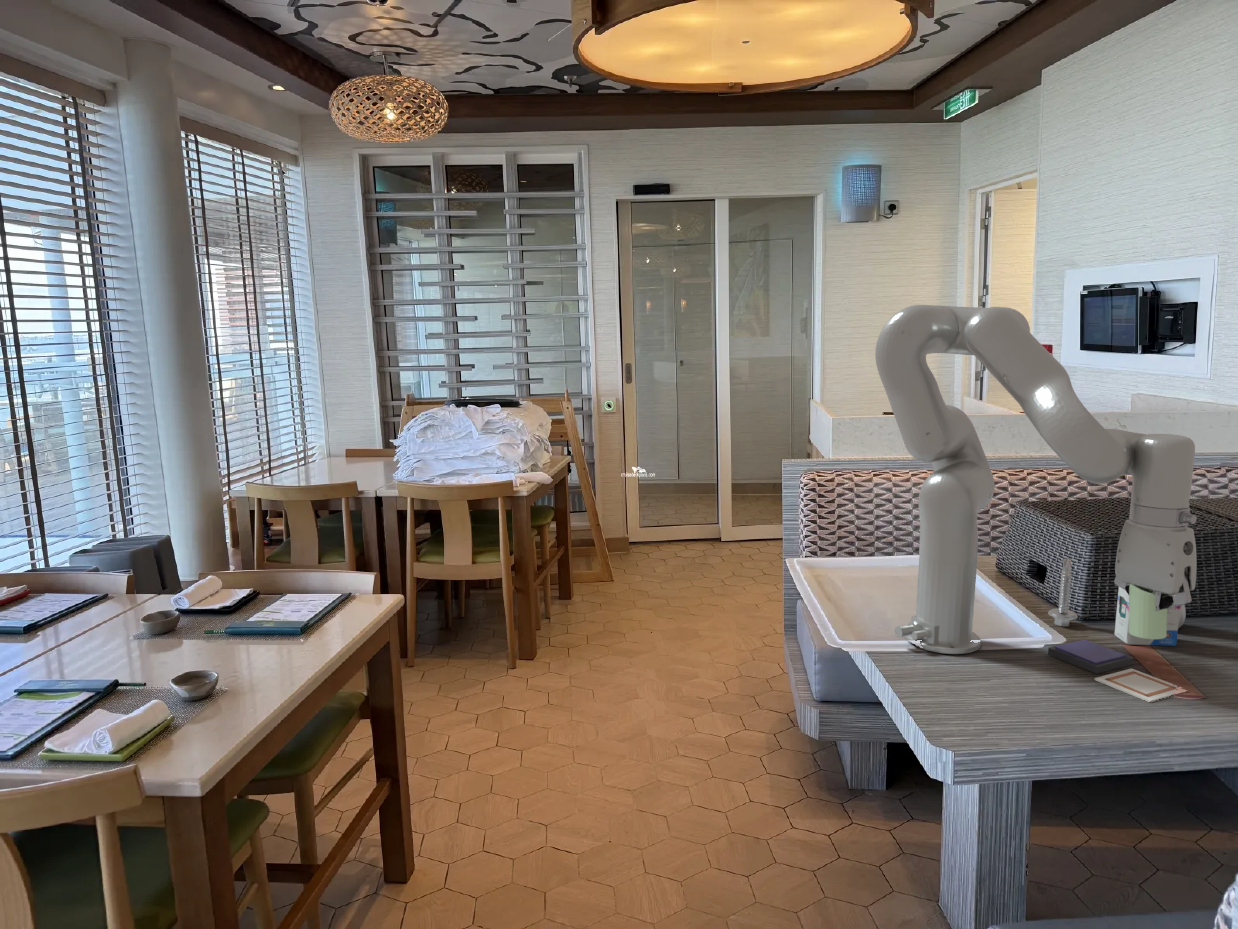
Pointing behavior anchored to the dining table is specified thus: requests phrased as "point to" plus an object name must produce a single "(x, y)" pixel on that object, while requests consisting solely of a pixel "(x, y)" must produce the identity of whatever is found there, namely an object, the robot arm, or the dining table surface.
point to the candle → (1145, 615)
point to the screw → (1064, 598)
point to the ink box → (1124, 635)
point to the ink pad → (1090, 656)
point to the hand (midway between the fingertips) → (1147, 631)
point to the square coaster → (1139, 684)
